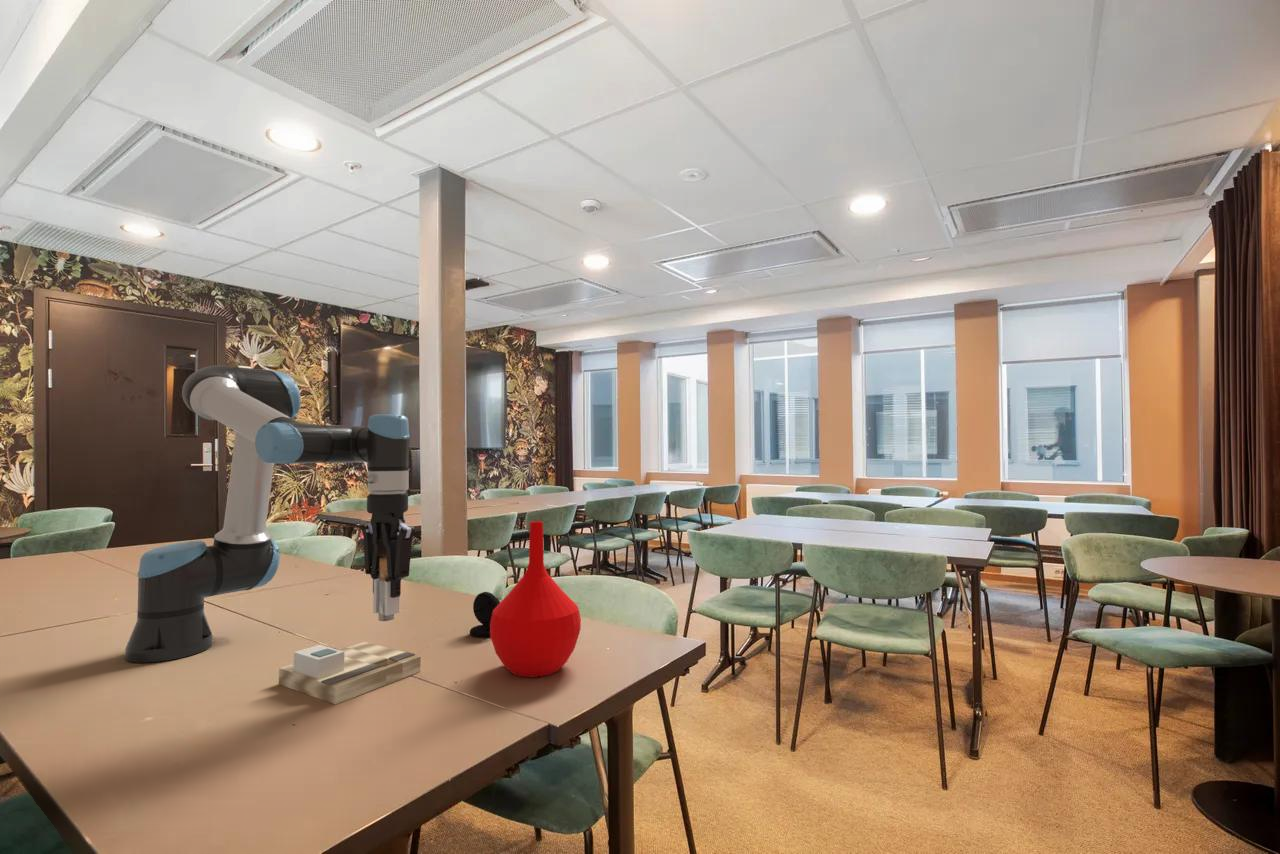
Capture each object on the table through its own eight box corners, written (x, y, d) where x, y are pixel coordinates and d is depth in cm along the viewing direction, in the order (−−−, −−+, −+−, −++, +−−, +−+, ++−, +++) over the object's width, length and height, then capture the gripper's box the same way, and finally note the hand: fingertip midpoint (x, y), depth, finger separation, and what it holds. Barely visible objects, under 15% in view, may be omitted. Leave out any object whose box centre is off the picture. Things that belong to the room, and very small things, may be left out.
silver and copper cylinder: (375, 620, 115) (376, 558, 115) (387, 616, 117) (388, 555, 118) (384, 622, 113) (385, 559, 114) (397, 618, 116) (397, 557, 116)
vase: (596, 660, 125) (597, 519, 126) (548, 692, 108) (548, 529, 109) (525, 648, 132) (526, 515, 134) (469, 677, 116) (471, 524, 117)
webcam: (508, 632, 145) (508, 591, 145) (485, 640, 138) (485, 597, 139) (486, 627, 149) (486, 587, 149) (462, 634, 142) (463, 593, 143)
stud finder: (293, 671, 111) (293, 651, 111) (319, 662, 115) (319, 643, 115) (318, 679, 107) (318, 658, 107) (344, 670, 111) (344, 650, 111)
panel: (278, 684, 112) (279, 667, 112) (364, 655, 128) (364, 640, 128) (335, 704, 103) (335, 685, 103) (420, 671, 118) (420, 655, 119)
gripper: (345, 492, 117) (343, 611, 116) (397, 494, 109) (395, 623, 108) (379, 490, 124) (377, 603, 123) (430, 492, 116) (429, 613, 115)
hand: (386, 612), depth 115 cm, fingers closed on silver and copper cylinder, 3 cm apart
